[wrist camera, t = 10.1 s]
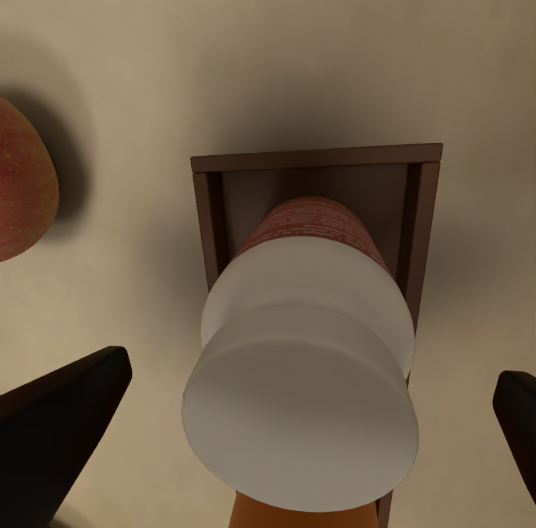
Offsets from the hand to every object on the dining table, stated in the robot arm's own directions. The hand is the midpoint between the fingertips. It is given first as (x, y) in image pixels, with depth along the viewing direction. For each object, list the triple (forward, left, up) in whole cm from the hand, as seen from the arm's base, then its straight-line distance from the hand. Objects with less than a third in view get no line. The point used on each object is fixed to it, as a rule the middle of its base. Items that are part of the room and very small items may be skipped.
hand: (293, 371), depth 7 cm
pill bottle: (0, 0, -10) cm, 10 cm away
